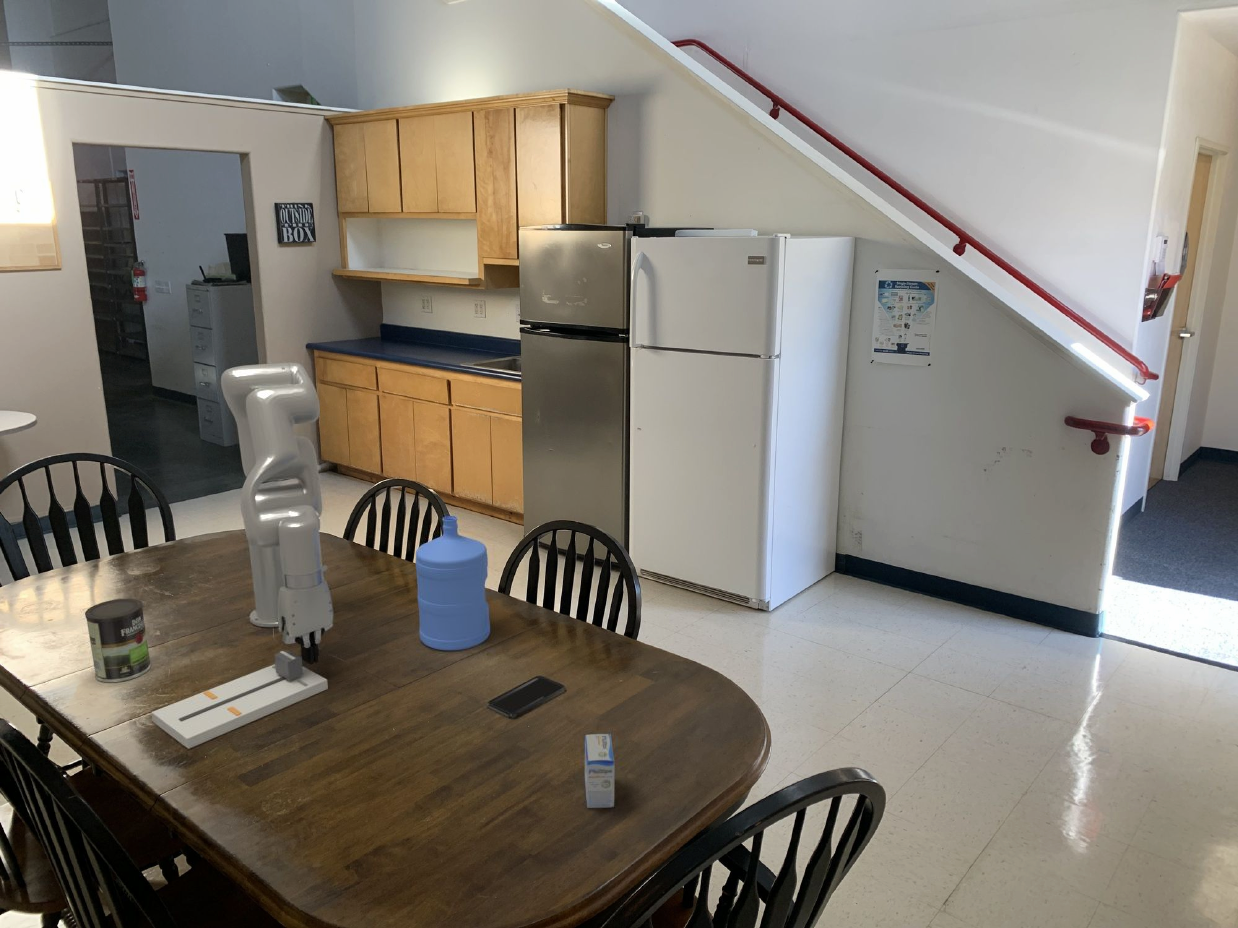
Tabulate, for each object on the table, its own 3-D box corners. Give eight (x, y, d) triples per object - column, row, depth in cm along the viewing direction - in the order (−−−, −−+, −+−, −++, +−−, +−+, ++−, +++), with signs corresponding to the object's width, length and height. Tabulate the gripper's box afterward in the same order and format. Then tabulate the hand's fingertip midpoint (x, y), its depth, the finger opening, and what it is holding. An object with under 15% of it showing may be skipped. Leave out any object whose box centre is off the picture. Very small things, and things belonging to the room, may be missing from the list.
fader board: (289, 667, 189) (288, 657, 188) (327, 688, 180) (327, 678, 180) (152, 721, 168) (151, 711, 168) (188, 748, 160) (186, 737, 159)
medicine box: (584, 779, 151) (584, 733, 149) (611, 778, 151) (611, 732, 149) (586, 809, 143) (586, 761, 141) (614, 807, 144) (614, 759, 142)
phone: (484, 703, 174) (539, 674, 185) (484, 708, 174) (539, 679, 185) (512, 717, 169) (567, 686, 180) (513, 722, 169) (567, 691, 180)
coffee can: (162, 661, 191) (153, 600, 188) (127, 685, 182) (117, 620, 178) (119, 657, 193) (110, 595, 190) (83, 680, 184) (72, 616, 180)
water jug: (458, 658, 193) (452, 534, 186) (405, 641, 201) (397, 521, 194) (504, 631, 206) (500, 514, 199) (452, 616, 214) (447, 503, 207)
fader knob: (289, 667, 184) (287, 648, 183) (303, 674, 181) (301, 655, 180) (275, 672, 182) (273, 653, 180) (289, 680, 178) (287, 661, 177)
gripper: (325, 562, 188) (332, 643, 192) (258, 584, 177) (267, 669, 181) (346, 571, 183) (353, 654, 188) (278, 593, 172) (287, 681, 177)
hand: (310, 661), depth 184 cm, fingers closed
